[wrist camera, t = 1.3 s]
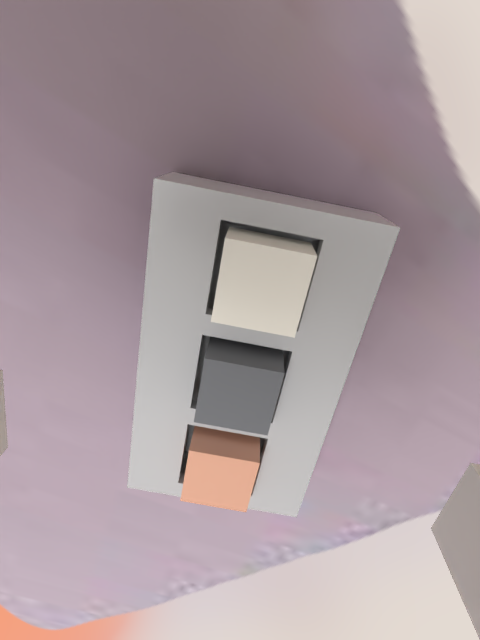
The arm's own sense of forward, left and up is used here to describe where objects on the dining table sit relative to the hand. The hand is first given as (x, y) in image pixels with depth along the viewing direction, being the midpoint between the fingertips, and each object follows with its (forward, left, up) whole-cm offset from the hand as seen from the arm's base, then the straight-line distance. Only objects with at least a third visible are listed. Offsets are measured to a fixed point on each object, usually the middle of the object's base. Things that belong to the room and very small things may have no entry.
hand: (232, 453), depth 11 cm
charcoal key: (+7, +1, -14) cm, 16 cm away
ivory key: (-1, +1, -15) cm, 15 cm away
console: (+7, +1, -19) cm, 20 cm away
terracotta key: (+14, +1, -14) cm, 20 cm away
